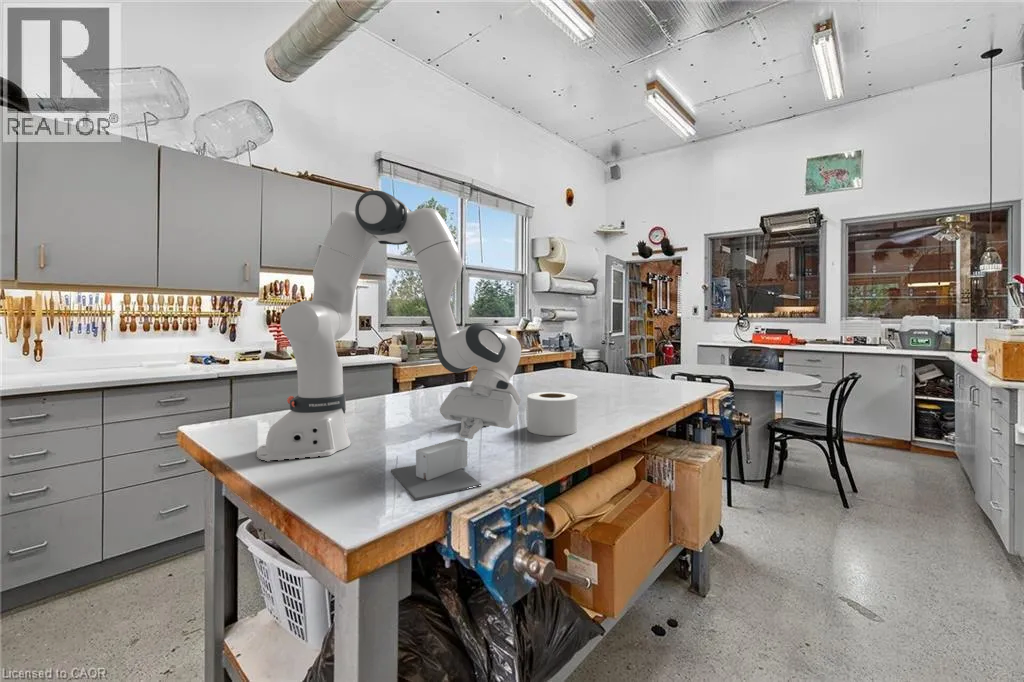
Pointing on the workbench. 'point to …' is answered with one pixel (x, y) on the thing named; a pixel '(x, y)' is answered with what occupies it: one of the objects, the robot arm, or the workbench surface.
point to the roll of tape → (552, 413)
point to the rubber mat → (433, 482)
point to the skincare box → (441, 459)
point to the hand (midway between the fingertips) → (465, 437)
